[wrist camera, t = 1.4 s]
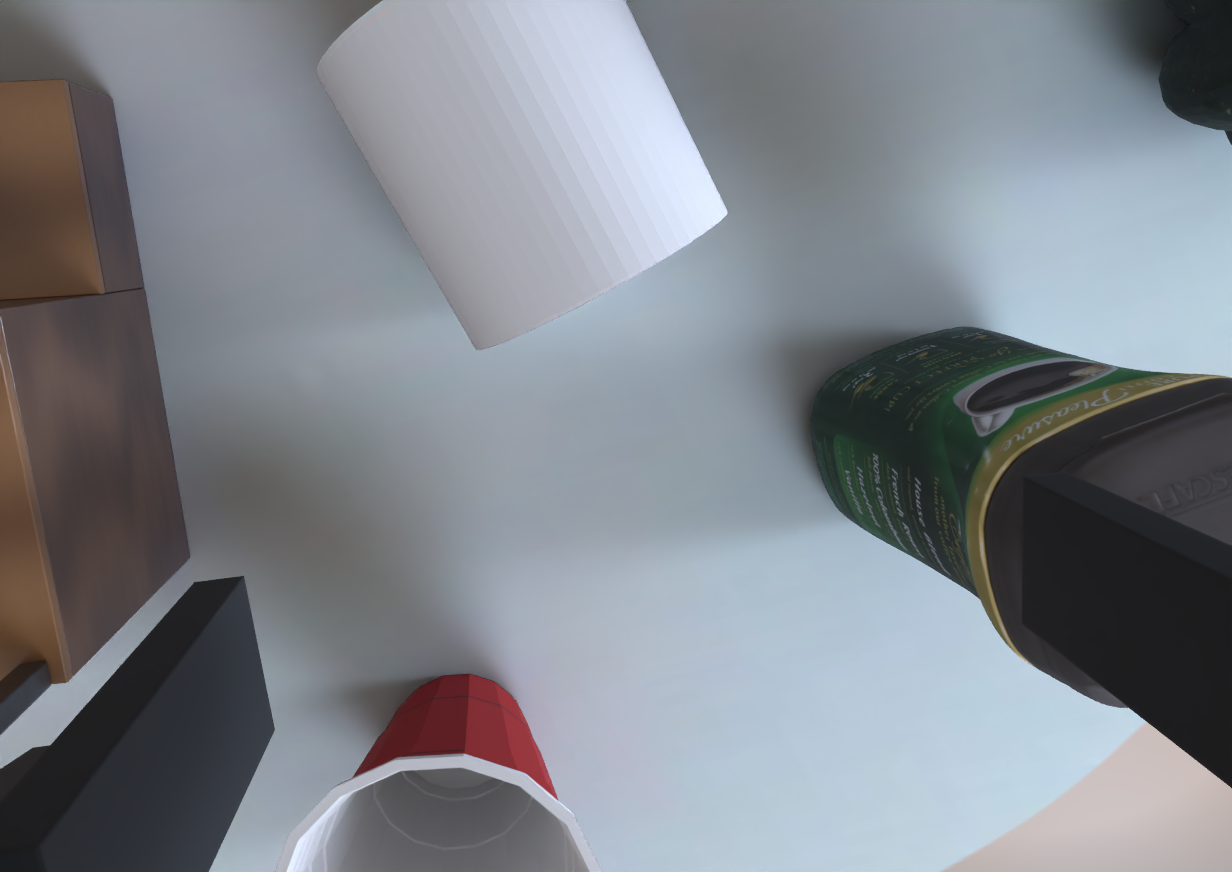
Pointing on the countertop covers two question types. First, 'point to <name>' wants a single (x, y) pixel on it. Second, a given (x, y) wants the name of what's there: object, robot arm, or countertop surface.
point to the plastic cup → (445, 795)
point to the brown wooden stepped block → (74, 396)
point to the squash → (1200, 64)
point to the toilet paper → (521, 150)
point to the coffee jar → (1013, 456)
